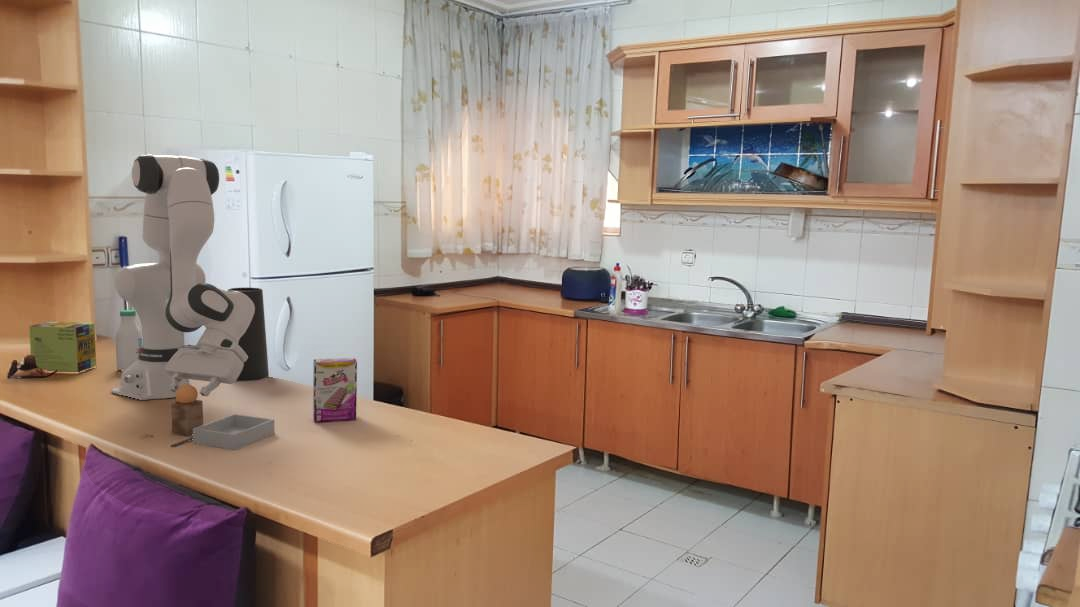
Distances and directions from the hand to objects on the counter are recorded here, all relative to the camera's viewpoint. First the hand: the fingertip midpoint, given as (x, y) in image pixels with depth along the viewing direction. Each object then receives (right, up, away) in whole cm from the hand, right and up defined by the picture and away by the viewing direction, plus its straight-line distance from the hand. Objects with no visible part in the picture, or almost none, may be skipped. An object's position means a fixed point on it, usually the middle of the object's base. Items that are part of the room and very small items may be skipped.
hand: (188, 393), depth 188 cm
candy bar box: (+32, -9, +17) cm, 37 cm away
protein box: (-69, 0, +62) cm, 93 cm away
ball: (0, 0, 0) cm, 1 cm away
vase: (-9, -2, +62) cm, 63 cm away
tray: (+12, -11, -2) cm, 17 cm away
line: (+4, -10, +1) cm, 11 cm away
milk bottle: (-50, 0, +66) cm, 83 cm away
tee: (-1, -10, +1) cm, 10 cm away
